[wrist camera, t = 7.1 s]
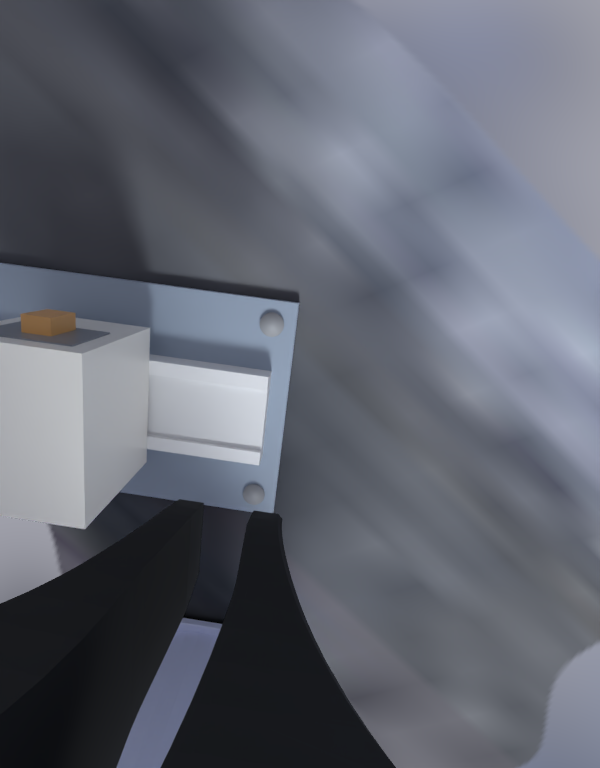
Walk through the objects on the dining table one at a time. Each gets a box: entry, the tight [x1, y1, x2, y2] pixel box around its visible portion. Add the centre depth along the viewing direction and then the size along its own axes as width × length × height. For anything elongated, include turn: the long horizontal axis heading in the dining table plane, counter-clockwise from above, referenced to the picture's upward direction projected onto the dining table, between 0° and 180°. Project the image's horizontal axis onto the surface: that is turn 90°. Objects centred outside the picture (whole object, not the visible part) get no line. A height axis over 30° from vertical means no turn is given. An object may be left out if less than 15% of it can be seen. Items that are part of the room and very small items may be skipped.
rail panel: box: [0, 263, 299, 513], centre depth 19 cm, size 10×23×3 cm, turn 83°
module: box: [0, 309, 150, 529], centre depth 16 cm, size 7×4×5 cm
